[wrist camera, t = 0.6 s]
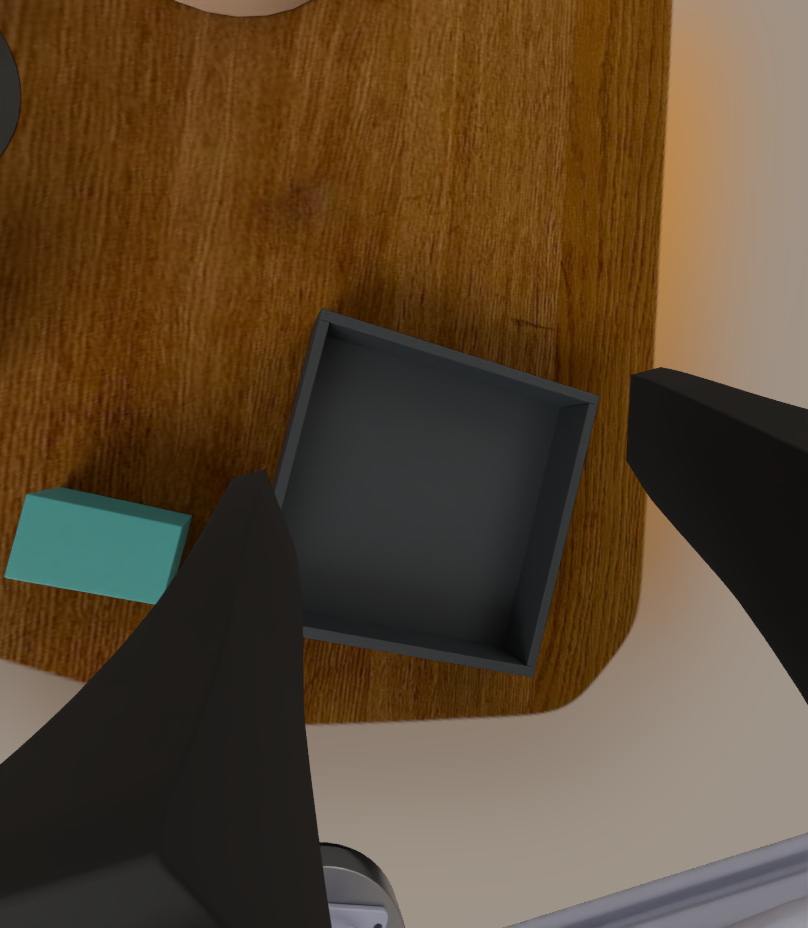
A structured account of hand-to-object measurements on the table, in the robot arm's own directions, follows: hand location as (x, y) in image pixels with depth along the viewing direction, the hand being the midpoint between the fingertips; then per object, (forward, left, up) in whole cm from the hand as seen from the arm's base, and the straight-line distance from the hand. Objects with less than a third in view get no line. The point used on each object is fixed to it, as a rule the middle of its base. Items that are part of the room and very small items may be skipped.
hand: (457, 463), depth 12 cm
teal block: (-7, +10, -25) cm, 28 cm away
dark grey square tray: (-1, -6, -25) cm, 26 cm away
